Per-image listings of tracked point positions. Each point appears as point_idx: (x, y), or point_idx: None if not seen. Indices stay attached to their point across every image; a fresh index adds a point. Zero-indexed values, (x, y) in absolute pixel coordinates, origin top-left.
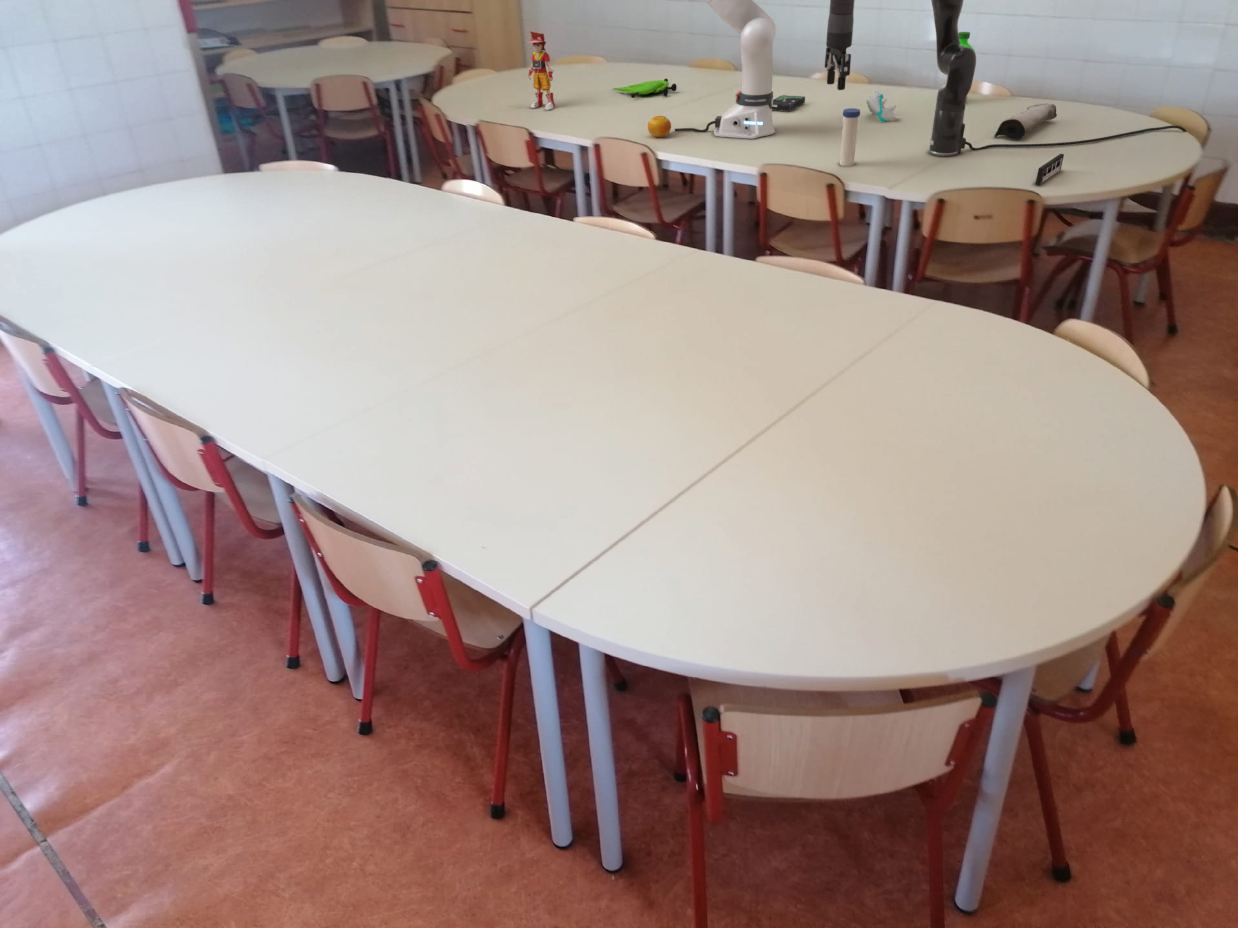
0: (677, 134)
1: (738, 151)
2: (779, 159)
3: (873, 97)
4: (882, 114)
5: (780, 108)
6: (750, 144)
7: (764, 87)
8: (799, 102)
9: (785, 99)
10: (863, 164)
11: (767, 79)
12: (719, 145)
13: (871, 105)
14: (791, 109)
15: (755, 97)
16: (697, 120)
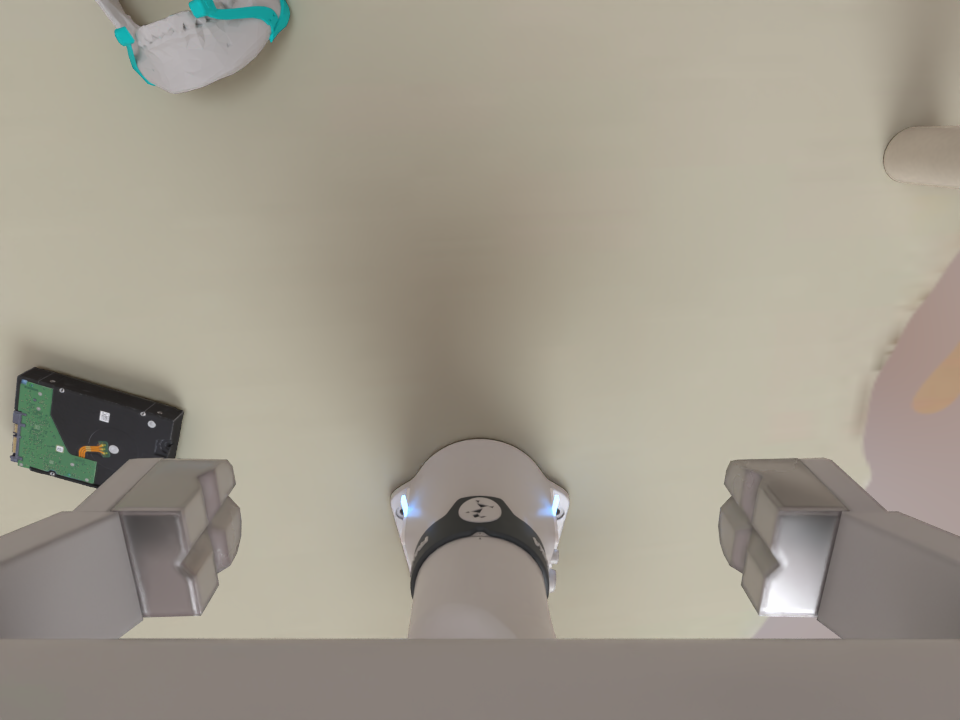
0: None
1: (708, 521)
2: (815, 392)
3: (193, 54)
4: (270, 6)
5: (173, 450)
6: (628, 496)
7: (536, 580)
8: (85, 389)
9: (82, 447)
10: (923, 87)
11: (530, 593)
12: (636, 580)
13: (242, 64)
14: (171, 409)
15: (548, 584)
16: None
